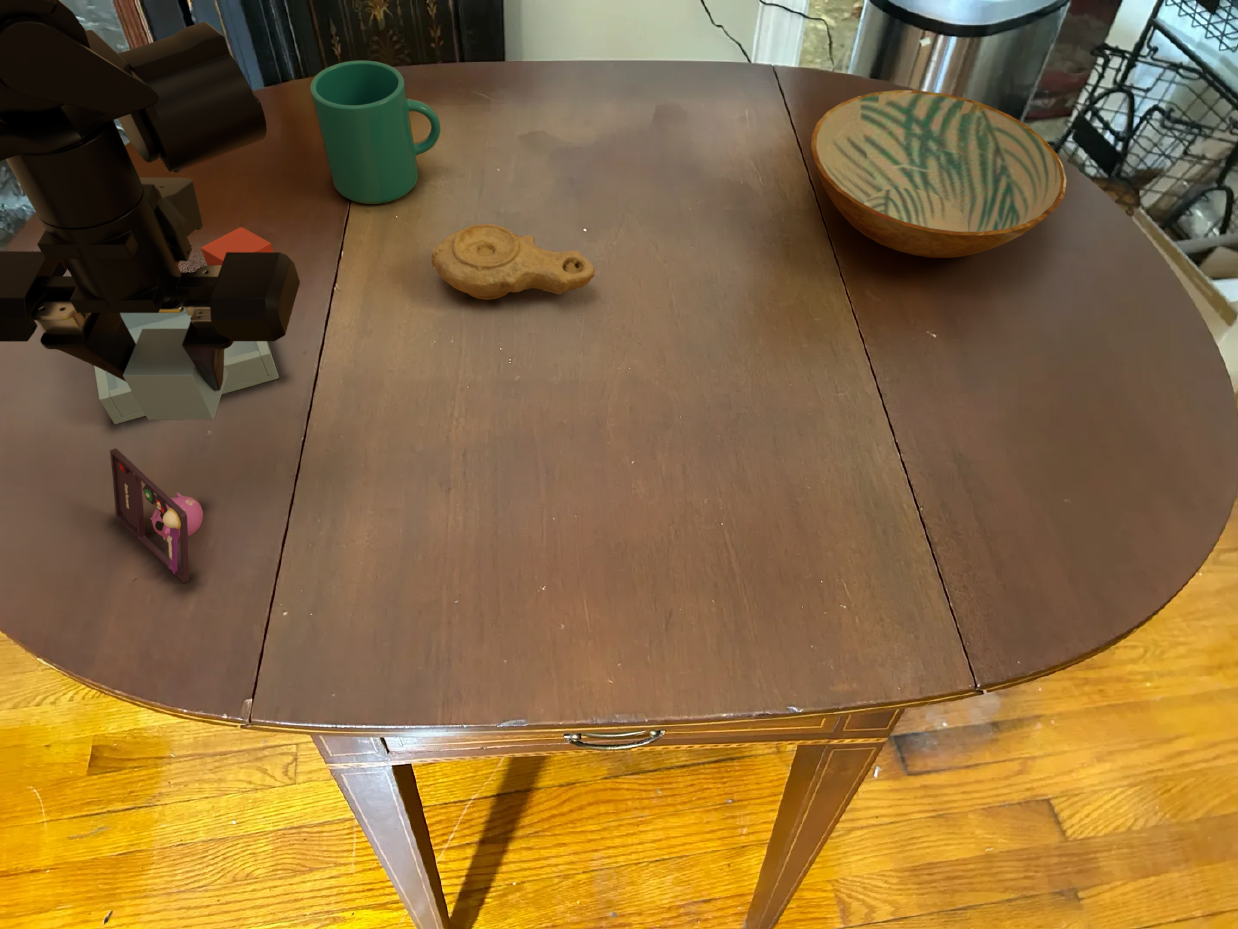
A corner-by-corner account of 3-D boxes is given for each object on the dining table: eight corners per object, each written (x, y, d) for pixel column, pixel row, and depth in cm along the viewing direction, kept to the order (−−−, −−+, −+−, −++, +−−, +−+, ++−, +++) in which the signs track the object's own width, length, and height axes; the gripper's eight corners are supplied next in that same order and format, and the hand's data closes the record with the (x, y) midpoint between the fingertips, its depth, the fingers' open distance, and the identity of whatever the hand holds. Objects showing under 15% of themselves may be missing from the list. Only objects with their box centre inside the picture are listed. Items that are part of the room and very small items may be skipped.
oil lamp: (598, 306, 87) (599, 264, 83) (451, 336, 84) (445, 294, 80) (566, 239, 93) (566, 197, 89) (428, 264, 90) (421, 222, 86)
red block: (244, 305, 85) (229, 264, 82) (215, 287, 87) (200, 247, 84) (283, 283, 87) (270, 242, 84) (255, 266, 89) (241, 226, 86)
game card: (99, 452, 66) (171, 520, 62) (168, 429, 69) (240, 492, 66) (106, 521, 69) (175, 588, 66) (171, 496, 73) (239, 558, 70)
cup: (451, 198, 97) (439, 99, 88) (336, 211, 95) (311, 111, 86) (441, 150, 102) (428, 53, 93) (332, 162, 100) (308, 63, 91)
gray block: (147, 420, 63) (122, 375, 60) (165, 373, 66) (142, 328, 62) (213, 420, 63) (192, 375, 60) (228, 373, 66) (208, 328, 63)
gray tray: (114, 424, 76) (99, 399, 73) (99, 335, 82) (85, 309, 80) (279, 378, 80) (270, 353, 77) (253, 296, 86) (243, 271, 84)
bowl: (750, 190, 99) (761, 124, 93) (924, 133, 108) (945, 68, 101) (901, 332, 86) (926, 265, 80) (1086, 254, 94) (1122, 188, 88)
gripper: (284, 121, 57) (336, 308, 69) (-22, 118, 56) (86, 308, 68) (245, 233, 50) (311, 418, 62) (-105, 231, 49) (32, 420, 62)
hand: (184, 386), depth 64 cm, fingers closed on gray block, 4 cm apart
